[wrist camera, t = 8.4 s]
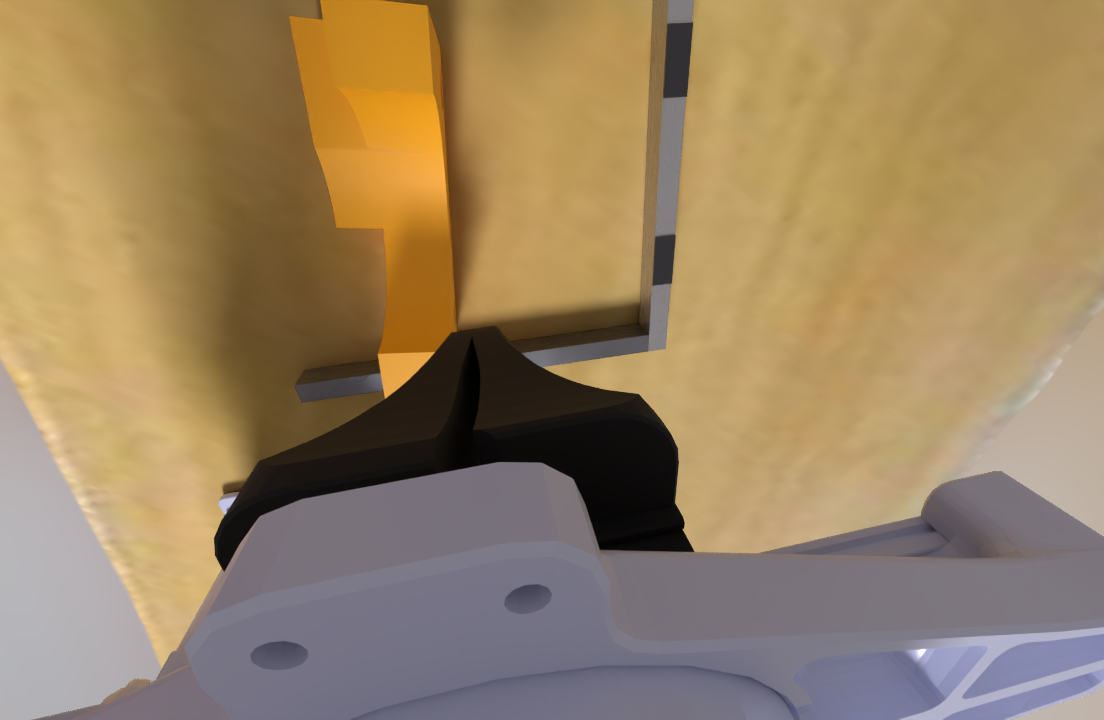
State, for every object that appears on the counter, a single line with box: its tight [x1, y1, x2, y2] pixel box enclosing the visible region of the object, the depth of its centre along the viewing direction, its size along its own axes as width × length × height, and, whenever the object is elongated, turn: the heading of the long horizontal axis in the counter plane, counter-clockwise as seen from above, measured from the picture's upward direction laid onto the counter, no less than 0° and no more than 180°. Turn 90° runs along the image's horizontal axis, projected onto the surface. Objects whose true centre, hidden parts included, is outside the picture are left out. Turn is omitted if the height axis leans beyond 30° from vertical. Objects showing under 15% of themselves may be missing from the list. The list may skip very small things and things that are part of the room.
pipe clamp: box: [289, 0, 457, 398], centre depth 16 cm, size 12×4×6 cm, turn 177°
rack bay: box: [295, 0, 694, 402], centre depth 18 cm, size 18×19×2 cm
